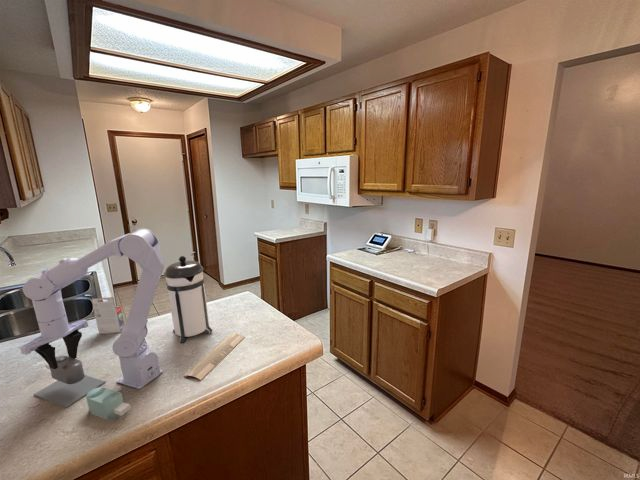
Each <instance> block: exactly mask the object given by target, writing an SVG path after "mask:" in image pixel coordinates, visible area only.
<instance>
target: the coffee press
mask: <svg viewBox="0 0 640 480" xmlns="http://www.w3.org/2000/svg"><path fill="white" fill-rule="evenodd" d="M163 276H164V278H165V280H166V283H165V286H166V290H167V293H168V300H169V305H170V312H171V313H170V314H171V318H172V323H173V330H172V333H173V334H175V335H177V336H179V337H180V339H179V343H180V344H185V343H186V341H187V339H188V337H194V336H197V335H200V334H202V333H203V332H205V333H206V334H207V335H211V334H212V333H213V328H211V327H210V321H209V313H208V304H207V297H206V296H207V295H206V289H205V276H204V266H202V265H201V263H200V262H199V261H196V260H187V258H186V257H185V255H181V256H179V257H178V261H177V262H176V261H175V262H174V263H171V264H170V265H168V266H167V267H166V268H165V270H164V272H163Z"/></svg>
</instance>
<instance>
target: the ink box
mask: <svg viewBox="0 0 640 480" xmlns="http://www.w3.org/2000/svg"><path fill="white" fill-rule="evenodd" d="M102 300H103V301H102ZM91 302H92V306H93V313H94V318H95V321H96V326H97V330H98V334H99V335H105V334H107V335H108V334H117V333H118V334H119V333H121V331H122V329H123V327H124V325H125V321H124V316H123V311H122V306H121V305H115V299H114V297H113V296H112V297H97V298H91Z"/></svg>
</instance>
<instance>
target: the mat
mask: <svg viewBox="0 0 640 480" xmlns="http://www.w3.org/2000/svg"><path fill="white" fill-rule="evenodd" d="M84 375H85V377H84V378H83V379H82V380H81V381H79V382H77V383H74V384H66V383H64V382H61V381H58V380H56V381H55V382H53V383H51V384H49V385H47V386H45V387H44V388H42V389H40V390H39V391H37V392H35V393H33V396H34V397H36V398H39V399H42V400H45V401H47V402H50V403H51V404H52V403H53V404H55V405H58V406H60V407H62V408H66V409H67V408H69V407H70V406H72V405H73V404H75V403H77V402H79V401H80V400H81V399H83V398H84V397H86V395H87V393H88V392H89V391H91V390H93V389H95V388H98V387H102V385H104V384H106V381H105V380H102V379H98V378H95V377H92V376H90V375H86V374H84Z"/></svg>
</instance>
